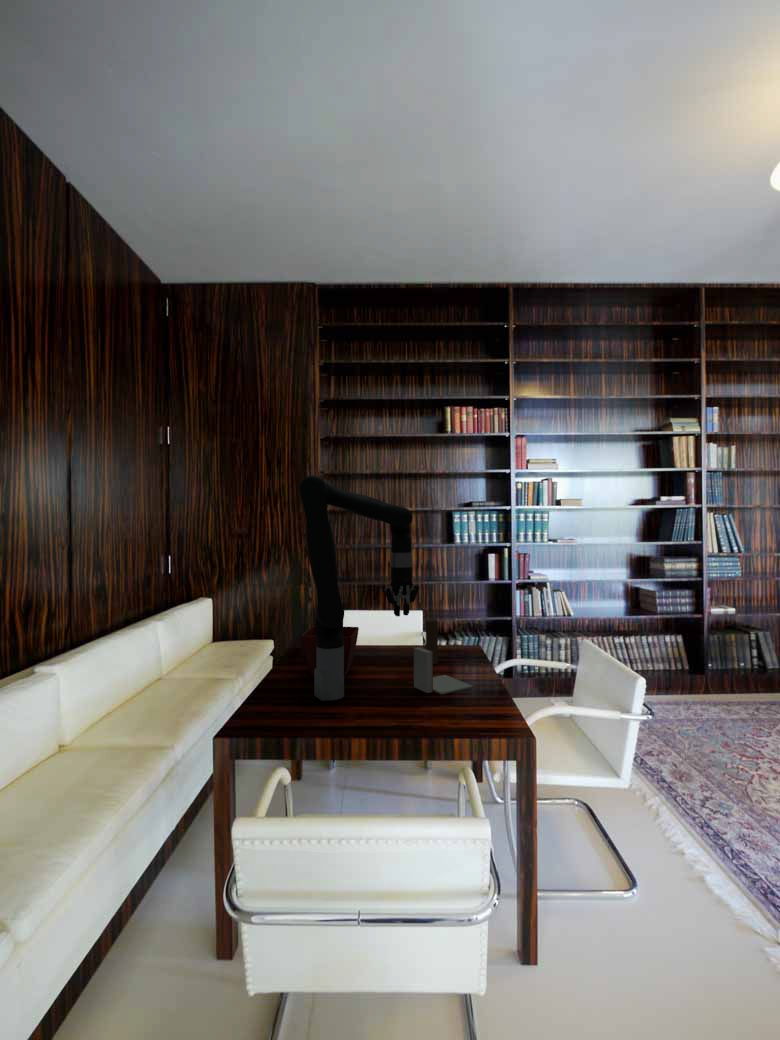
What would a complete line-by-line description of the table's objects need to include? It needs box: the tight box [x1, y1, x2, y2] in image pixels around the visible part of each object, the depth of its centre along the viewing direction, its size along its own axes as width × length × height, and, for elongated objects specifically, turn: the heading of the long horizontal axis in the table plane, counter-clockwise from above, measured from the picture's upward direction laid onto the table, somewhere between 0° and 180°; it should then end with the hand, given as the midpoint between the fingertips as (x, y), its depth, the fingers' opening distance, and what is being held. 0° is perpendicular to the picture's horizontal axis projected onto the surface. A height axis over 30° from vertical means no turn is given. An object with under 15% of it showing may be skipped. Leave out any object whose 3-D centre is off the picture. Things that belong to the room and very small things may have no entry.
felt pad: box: [433, 674, 474, 696], centre depth 193 cm, size 14×16×1 cm
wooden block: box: [423, 618, 439, 665], centre depth 223 cm, size 9×4×18 cm, turn 92°
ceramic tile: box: [413, 647, 434, 694], centre depth 189 cm, size 2×8×14 cm, turn 32°
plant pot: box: [301, 625, 360, 679], centre depth 208 cm, size 19×19×17 cm
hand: (401, 615), depth 184 cm, fingers open, 3 cm apart
